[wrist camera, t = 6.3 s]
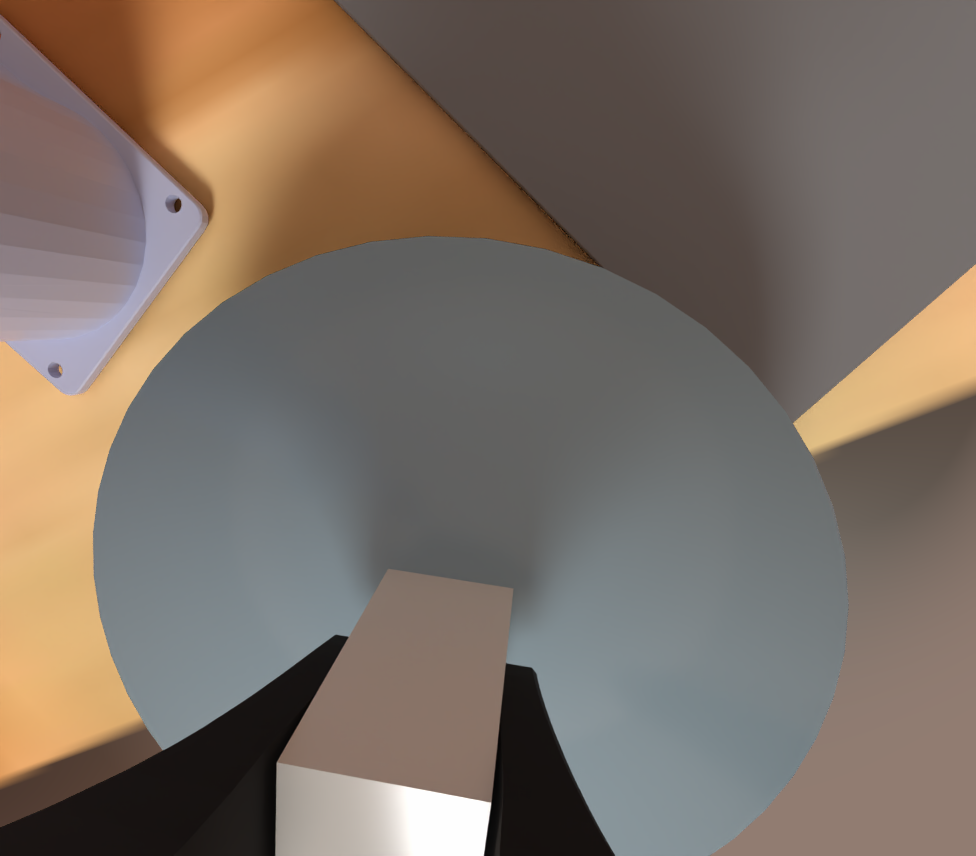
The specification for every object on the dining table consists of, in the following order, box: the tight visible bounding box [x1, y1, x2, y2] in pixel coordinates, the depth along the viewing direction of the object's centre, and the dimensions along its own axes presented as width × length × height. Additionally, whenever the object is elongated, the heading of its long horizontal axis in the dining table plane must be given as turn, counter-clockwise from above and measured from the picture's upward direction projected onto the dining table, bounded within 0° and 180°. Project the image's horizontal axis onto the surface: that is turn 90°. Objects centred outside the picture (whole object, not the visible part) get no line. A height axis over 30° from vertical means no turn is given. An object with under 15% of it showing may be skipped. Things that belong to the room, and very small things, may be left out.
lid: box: [93, 236, 848, 856], centre depth 10 cm, size 17×17×6 cm
